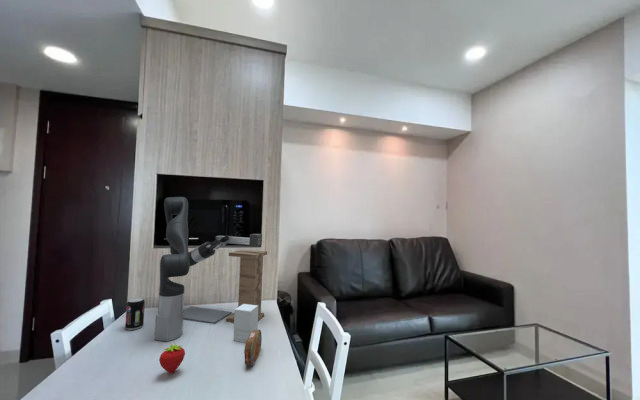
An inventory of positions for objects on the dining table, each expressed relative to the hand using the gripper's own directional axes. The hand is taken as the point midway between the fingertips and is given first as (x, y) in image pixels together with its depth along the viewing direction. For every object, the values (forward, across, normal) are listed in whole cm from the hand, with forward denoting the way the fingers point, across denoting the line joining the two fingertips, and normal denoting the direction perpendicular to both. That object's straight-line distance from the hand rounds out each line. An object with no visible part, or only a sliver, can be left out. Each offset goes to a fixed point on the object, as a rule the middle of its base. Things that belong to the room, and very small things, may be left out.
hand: (230, 236), depth 138 cm
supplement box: (-2, -18, +44) cm, 48 cm away
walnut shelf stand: (-10, 0, +39) cm, 40 cm away
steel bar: (+2, 0, +5) cm, 5 cm away
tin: (+7, -31, +49) cm, 58 cm away
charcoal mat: (-29, -3, +28) cm, 41 cm away
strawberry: (-10, -47, +39) cm, 62 cm away
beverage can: (-45, -24, +19) cm, 54 cm away
